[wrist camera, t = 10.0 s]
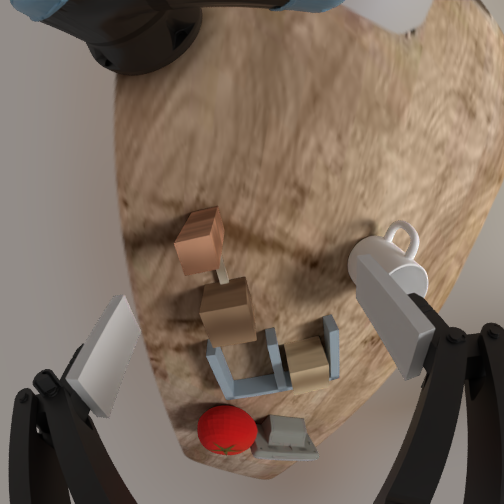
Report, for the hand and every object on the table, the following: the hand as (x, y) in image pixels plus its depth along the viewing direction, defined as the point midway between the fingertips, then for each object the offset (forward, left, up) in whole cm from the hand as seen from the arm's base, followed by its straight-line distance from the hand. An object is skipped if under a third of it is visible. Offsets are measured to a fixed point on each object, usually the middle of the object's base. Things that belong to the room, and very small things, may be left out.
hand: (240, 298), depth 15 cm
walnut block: (+8, -5, -22) cm, 24 cm away
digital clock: (+52, -3, -23) cm, 57 cm away
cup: (+11, +18, -23) cm, 31 cm away
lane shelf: (+27, 0, -22) cm, 35 cm away
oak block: (+28, +5, -22) cm, 36 cm away
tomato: (+43, -13, -23) cm, 50 cm away
